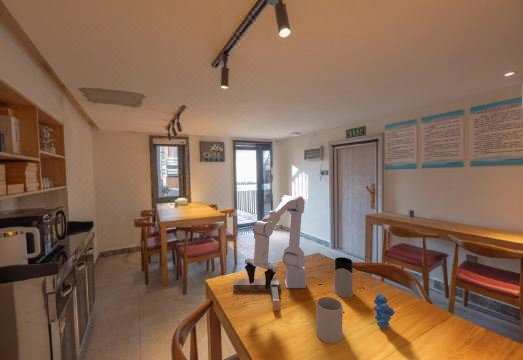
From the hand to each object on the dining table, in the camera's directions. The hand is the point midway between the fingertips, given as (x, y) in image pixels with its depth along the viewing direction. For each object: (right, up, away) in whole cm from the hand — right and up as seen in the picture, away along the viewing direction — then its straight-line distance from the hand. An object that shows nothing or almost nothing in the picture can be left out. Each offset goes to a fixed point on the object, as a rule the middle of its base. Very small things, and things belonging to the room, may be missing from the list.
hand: (259, 285), depth 93 cm
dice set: (+31, -11, 0) cm, 33 cm away
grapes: (+45, -11, -10) cm, 47 cm away
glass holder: (+40, -10, +17) cm, 44 cm away
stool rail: (-1, -10, +17) cm, 19 cm away
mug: (+25, -11, -12) cm, 30 cm away
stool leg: (+7, -10, +8) cm, 14 cm away
